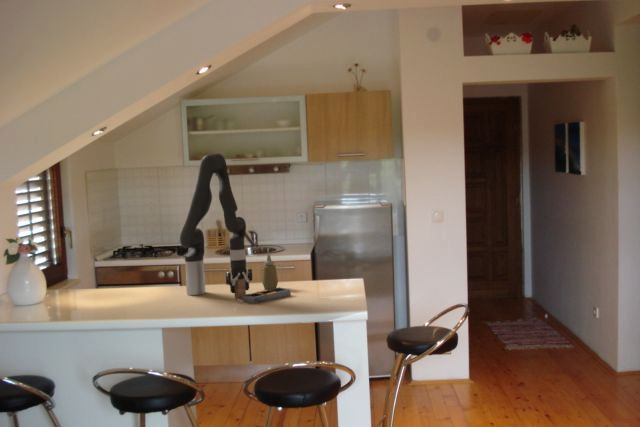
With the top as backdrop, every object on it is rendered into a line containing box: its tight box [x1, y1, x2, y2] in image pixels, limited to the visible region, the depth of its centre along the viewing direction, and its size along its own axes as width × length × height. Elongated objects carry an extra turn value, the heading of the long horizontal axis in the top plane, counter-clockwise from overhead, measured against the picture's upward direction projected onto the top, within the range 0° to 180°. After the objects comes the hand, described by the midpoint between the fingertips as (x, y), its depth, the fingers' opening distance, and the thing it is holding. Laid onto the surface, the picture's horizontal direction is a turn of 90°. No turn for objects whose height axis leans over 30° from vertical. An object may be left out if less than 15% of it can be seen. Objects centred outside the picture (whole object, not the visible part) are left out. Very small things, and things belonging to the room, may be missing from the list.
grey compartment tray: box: [242, 287, 292, 305], centre depth 340 cm, size 9×22×3 cm, turn 131°
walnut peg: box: [233, 278, 247, 301], centre depth 343 cm, size 4×4×10 cm
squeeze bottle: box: [262, 253, 279, 290], centre depth 360 cm, size 8×8×18 cm
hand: (240, 291), depth 343 cm, fingers open, 7 cm apart
